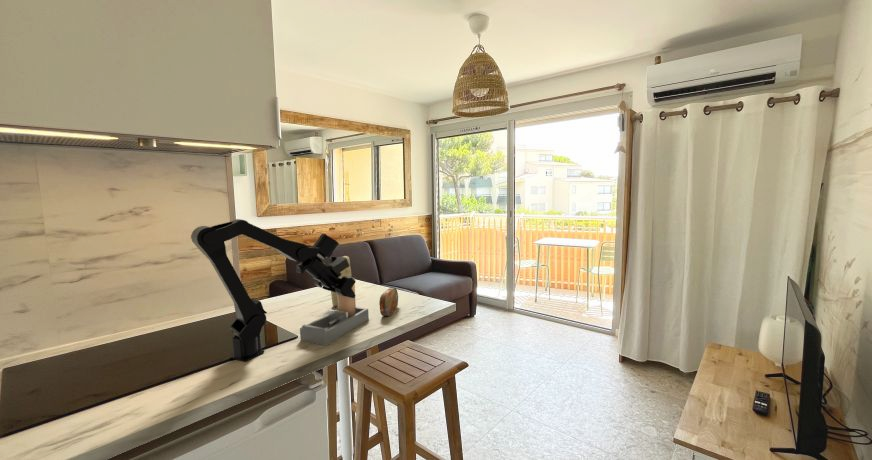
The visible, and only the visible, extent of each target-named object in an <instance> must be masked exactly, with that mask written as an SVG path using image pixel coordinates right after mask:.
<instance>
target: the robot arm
mask: <svg viewBox="0 0 872 460" xmlns="http://www.w3.org/2000/svg"><path fill="white" fill-rule="evenodd" d="M238 236H244V237H246V238H248V239H250V240H253V241H255V242H258V243H259V244H263V245H265V246H268V247H269V248H272V249H274V250H275V251H277V252H278V253H280V255H282V256H284V257H285V258H287V259H289V260H291V261H294V262H298V264H296V270H295V271H296V273H299V274H301V275H302V274H303V275H304V273H305V272H307V273H308V274H309V275H310V276H312V279H313V284H314V285H315V286H317V287H318V288H322V289H323V290H326V291H328V292H331V291H332V292H336V293H337V294H339V295H341V296H346V297H351V298H355V299H356V292H355V293H354V292H353V290H352V287H353V285H354V284H355V285H356V280H354V279H353V278H354V277H352V276H351V277H349V276H343V277H342V279H341V278H338V277H340V276H341V273H340V272H341V271H343V270H344V269H346V268H348V267H349V266H351V264H350V265H349V263H348V261H347V259H346V258H345V257H343V256H337V257H336V256H333V254H334V252H335V251H336V250H337V249H338V247H339V246H340V243H339V242H338V241H337V240H336V239H334V238H333V237H331V236H329V235H327V234H326V233H321V234H320V235H319V237H318V239H317V240H316V241H315V242H314V244H313V245H311V244H310V245H309V244H305V243H302V242H298V241H293V240H289V239H285V238H282V237H280V236H278V235H276V234H274V233H272V232H270V231H267V230H266V229H263V228H261V227H258V226H256V225H255V224H252V223H250V222H248V220H245V219H242V218H241V219H239V218H237V219H233V220H231V221H228V222H224V223H219V224H215V225H212V226H207V225H201V226H200V225H199V226H197V227H196V228H195V229H194V230H193V231H192V232H191V235H190V239H191V241H192V243H193V244H194V245H195V246H196V248H197V249H198V250H199V251H200V252H201V253H202V255H204V256H205V258H207V260H209V262H210V263H211V265H212V267H213V269H214V270H215V272H216V273H217V276H218V277H219V279H220V281H221V282H222V284H223V286H224V288H225V290H226V291H227V294H228V295H229V297H230V298H231V300H232V302H233V306H234V312H235V316H236V318H235V320H234V321H233V322H232V323H231V325H230V326H229V329H230V331H231V333H232V334H234V336H233V337H232V338H231V339H232V349H233V350H232V352H233V354H231V355H230V356H229V358H230V359H233V360H237V361H241V362H248V361H250V360H251V359H254V358H255V357H257V356H259V355H261V354H263V353H265V350H264V349H262V341H261V332H262V329H263V327H264V326H265V324H266V321H267V313H268V311H266V310H265V309H264V307H263V304H262V303H263V302H261V300H259V299H257V298H255V297H252V298H251V297H250V295H249V294H248V291H247V290H246V287H245V286H244V285H243V282H242V280H241V279H240V277H239V275H238V273H237V272H236V269H235V268H234V266H233V264H232V263H231V260H230V259H229V257H228V254H227V248H226V243H225V242H227V241H229V240H233V239H234V238H236V237H238ZM325 259H328V264H327V263H326V262H325V261H324V260H325Z"/></svg>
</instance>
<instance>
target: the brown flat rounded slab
mask: <svg viewBox="0 0 872 460" xmlns="http://www.w3.org/2000/svg"><path fill="white" fill-rule="evenodd" d="M398 304H399V294H398V290H397V288H396V287H392V288H390V287H389V288H388V289H386V290H385V291H384V292H383V293H382V294H381V295H380V298H379V312H380V315H381V316H383V317H390V316H391V315H392V314H393V313H394V312H395V311H396V310H397V308H398V306H399V305H398Z"/></svg>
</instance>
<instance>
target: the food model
mask: <svg viewBox="0 0 872 460" xmlns="http://www.w3.org/2000/svg"><path fill="white" fill-rule="evenodd" d="M342 257H345V258H346V259H347V261H348V263H349V265H350V266H349V267H348V268H346V269H344V270H343V271H341V272H340V273H341V276H340V277H338V278H342V277H343V276H349V277H352V268H351V260H350V257H349V256H347V255H344V256H342ZM330 296H331V302H332V305H333V306H334V307H338V295H337V293H336V292H332V291H330Z"/></svg>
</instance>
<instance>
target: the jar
mask: <svg viewBox="0 0 872 460" xmlns="http://www.w3.org/2000/svg"><path fill="white" fill-rule="evenodd" d="M352 278H353V279H354V280H355V279H356V278H355V277H352ZM341 279H342V278H341ZM355 281H356V280H355ZM352 290H353V292H354V293H355V294H356V283H355V284H354V285H353V287H352ZM337 295H338V306H337V310H338V311H345V312H348V318H349V317H351V316H353V315H355V314H356V307H357V305H356V297H355V298H351V297H346V296H341V295H339V294H337Z"/></svg>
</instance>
